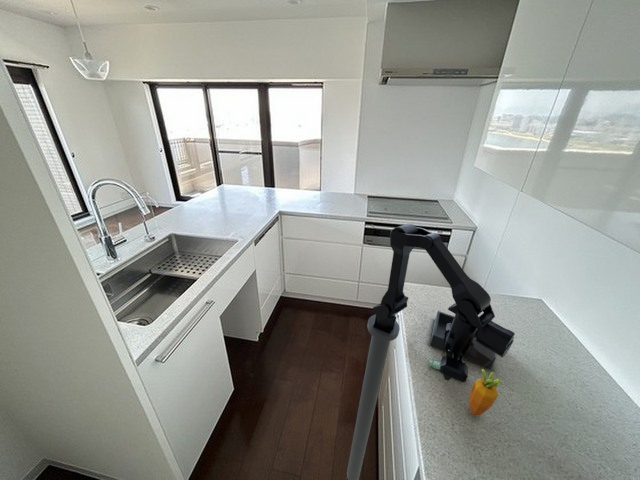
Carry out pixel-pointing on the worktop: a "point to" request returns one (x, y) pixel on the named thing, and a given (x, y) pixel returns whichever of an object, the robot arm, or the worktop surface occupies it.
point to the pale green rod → (435, 364)
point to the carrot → (483, 394)
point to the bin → (439, 333)
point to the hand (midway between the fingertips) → (447, 369)
